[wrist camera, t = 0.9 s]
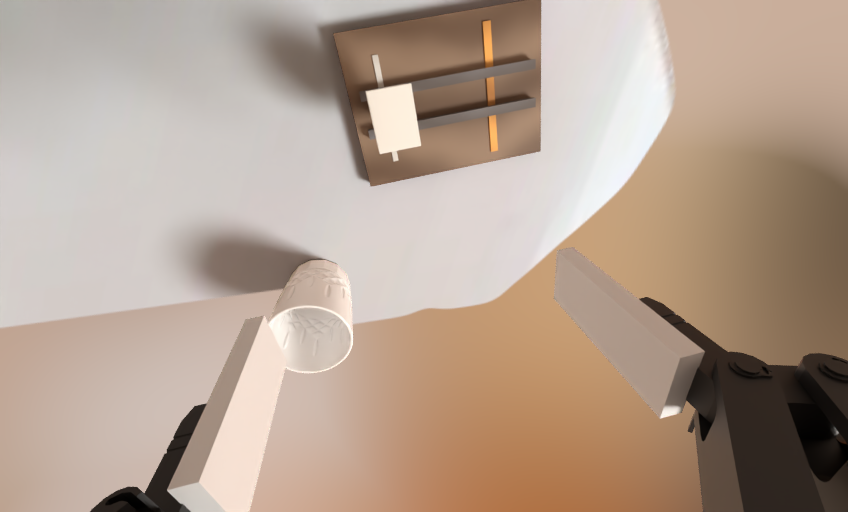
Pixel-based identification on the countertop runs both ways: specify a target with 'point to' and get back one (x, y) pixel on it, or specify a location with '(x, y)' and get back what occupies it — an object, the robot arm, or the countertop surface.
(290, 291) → the white cup
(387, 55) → the board
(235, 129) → the countertop surface
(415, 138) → the block
